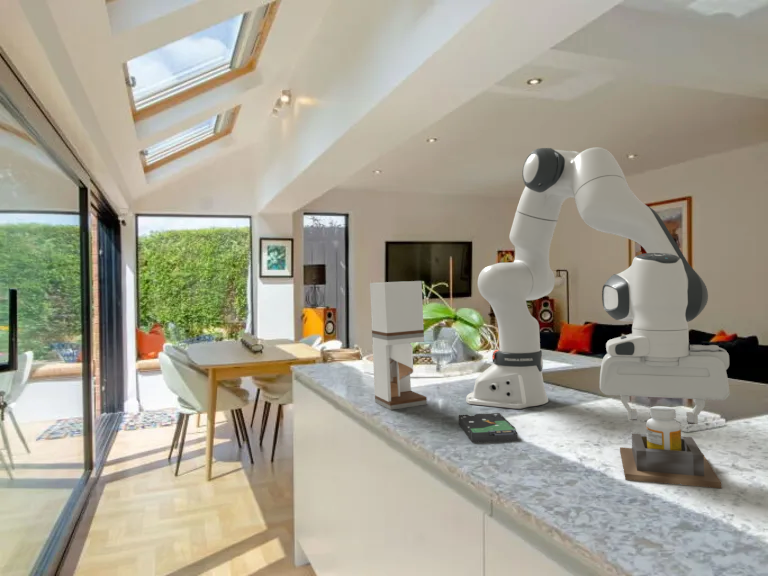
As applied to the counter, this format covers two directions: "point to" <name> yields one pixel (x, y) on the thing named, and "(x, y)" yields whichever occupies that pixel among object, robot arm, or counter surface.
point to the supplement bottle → (663, 429)
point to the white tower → (396, 341)
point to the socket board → (668, 464)
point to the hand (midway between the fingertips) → (661, 421)
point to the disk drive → (487, 428)
